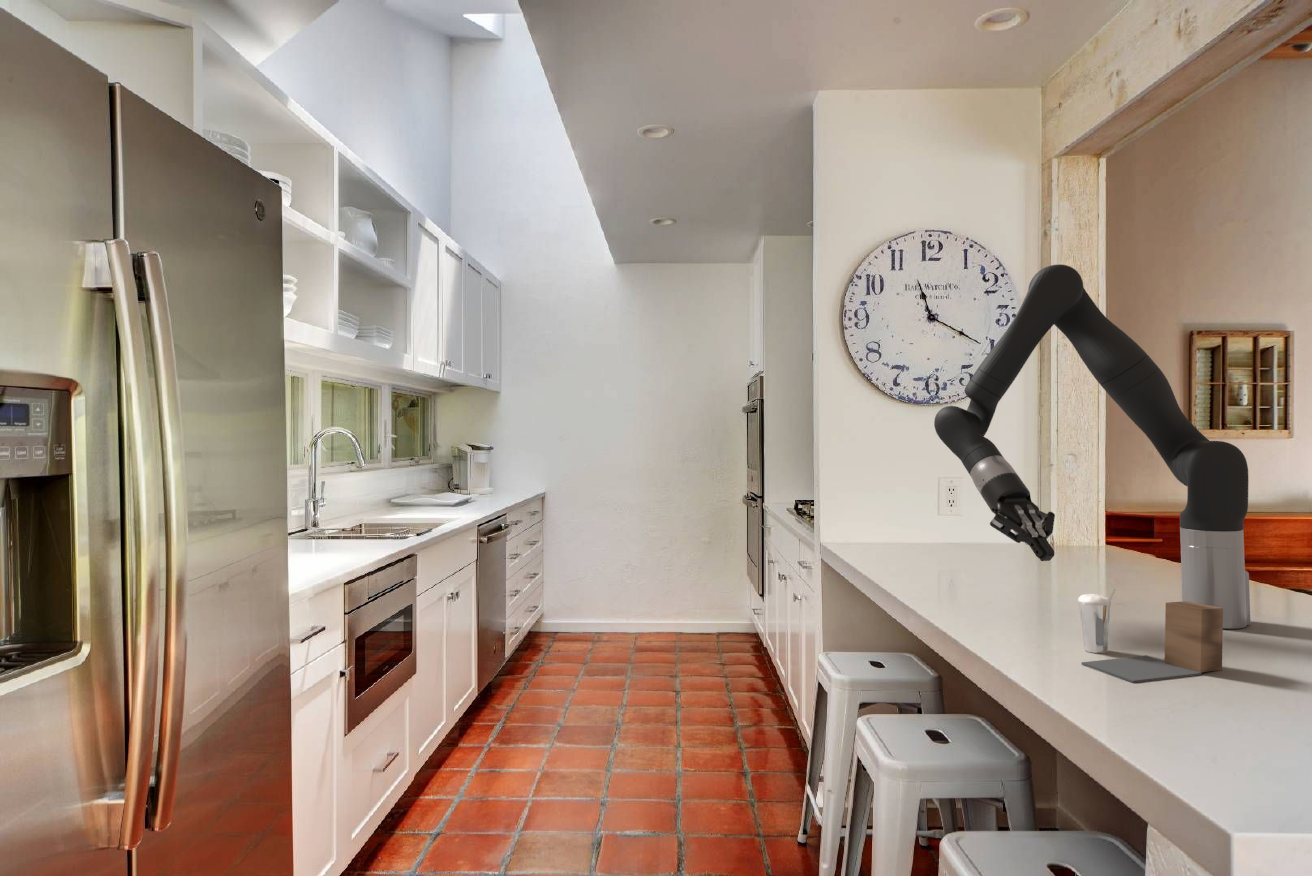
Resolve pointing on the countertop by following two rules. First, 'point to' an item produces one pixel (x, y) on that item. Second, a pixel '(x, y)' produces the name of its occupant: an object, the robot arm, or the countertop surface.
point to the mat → (1140, 669)
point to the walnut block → (1194, 636)
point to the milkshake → (1095, 621)
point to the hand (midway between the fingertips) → (1048, 558)
